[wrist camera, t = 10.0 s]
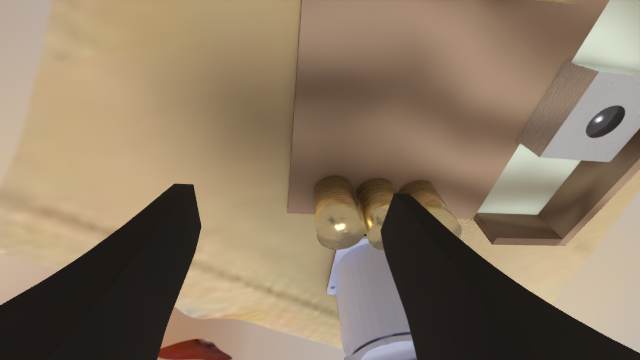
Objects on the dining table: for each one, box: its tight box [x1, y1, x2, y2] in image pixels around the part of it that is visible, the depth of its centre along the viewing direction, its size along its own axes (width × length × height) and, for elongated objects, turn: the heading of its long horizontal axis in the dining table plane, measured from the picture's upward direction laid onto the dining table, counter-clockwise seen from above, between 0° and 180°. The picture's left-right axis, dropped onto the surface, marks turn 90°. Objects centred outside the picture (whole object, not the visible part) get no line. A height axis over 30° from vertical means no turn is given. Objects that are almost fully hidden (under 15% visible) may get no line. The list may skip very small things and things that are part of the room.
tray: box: [287, 0, 640, 246], centre depth 18 cm, size 20×24×4 cm
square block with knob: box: [517, 61, 640, 162], centre depth 18 cm, size 6×6×2 cm
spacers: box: [313, 0, 585, 250], centre depth 16 cm, size 19×10×4 cm, turn 173°
